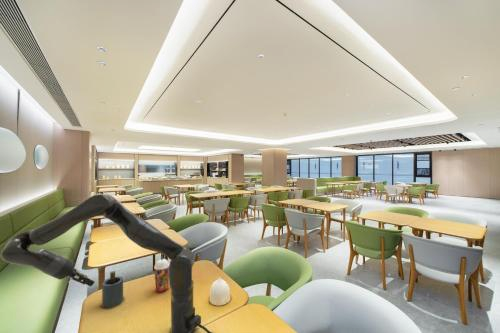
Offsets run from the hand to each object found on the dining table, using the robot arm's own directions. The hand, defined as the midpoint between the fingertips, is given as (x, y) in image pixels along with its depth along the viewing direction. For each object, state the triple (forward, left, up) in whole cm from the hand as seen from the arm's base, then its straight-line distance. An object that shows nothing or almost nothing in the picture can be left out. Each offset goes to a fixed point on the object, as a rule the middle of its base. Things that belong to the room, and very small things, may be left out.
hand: (89, 281), depth 101 cm
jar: (+1, -11, -16) cm, 19 cm away
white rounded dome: (-43, -44, -16) cm, 64 cm away
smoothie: (-10, -32, -16) cm, 37 cm away
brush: (+1, -10, -15) cm, 19 cm away
